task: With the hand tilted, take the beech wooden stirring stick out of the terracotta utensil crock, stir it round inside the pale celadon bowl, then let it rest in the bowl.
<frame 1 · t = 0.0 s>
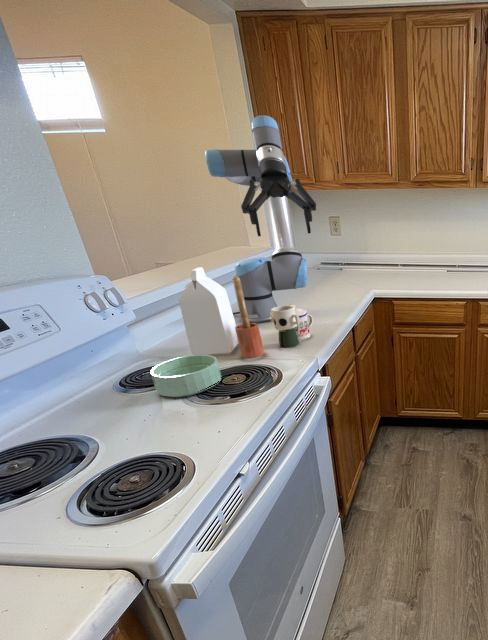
hand: (284, 232, 118), 36 cm above the countertop, tool tilted 35°, fingers open, 13 cm apart
bowl: (190, 386, 110), on the countertop
character mug: (289, 347, 136), on the countertop
utensil crock: (253, 356, 129), on the countertop
milk: (218, 350, 136), on the countertop
white patterned mug: (301, 337, 146), on the countertop
stirring stick: (252, 354, 128), point 1 cm above the countertop, touching utensil crock
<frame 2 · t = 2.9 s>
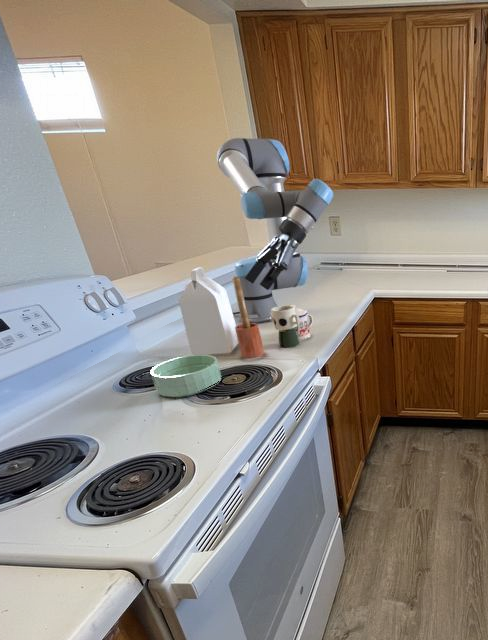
hand: (255, 284, 123), 22 cm above the countertop, tool tilted 45°, fingers open, 13 cm apart
nothing on the countertop moved.
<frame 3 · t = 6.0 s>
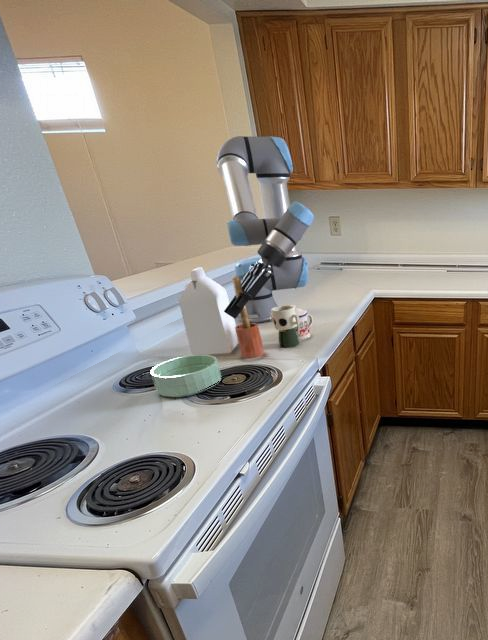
hand: (229, 315, 121), 14 cm above the countertop, tool tilted 45°, fingers closed on stirring stick, 2 cm apart
stirring stick: (252, 354, 128), point 1 cm above the countertop, touching gripper
everything else where it was.
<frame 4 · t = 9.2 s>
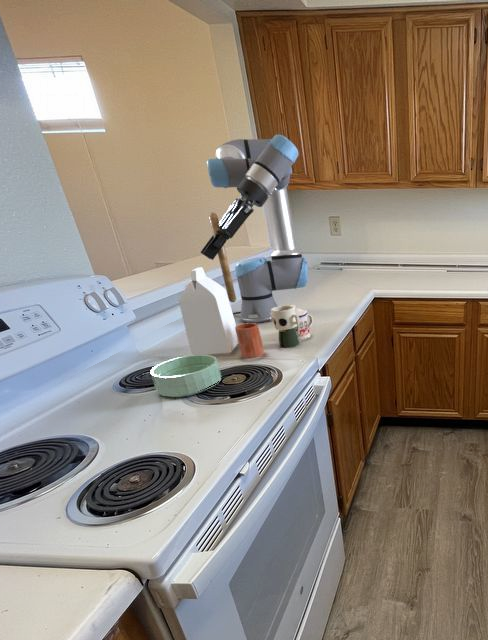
hand: (206, 256, 111), 31 cm above the countertop, tool tilted 45°, fingers closed on stirring stick, 2 cm apart
stirring stick: (233, 302, 119), point 18 cm above the countertop, touching gripper
everything else where it was.
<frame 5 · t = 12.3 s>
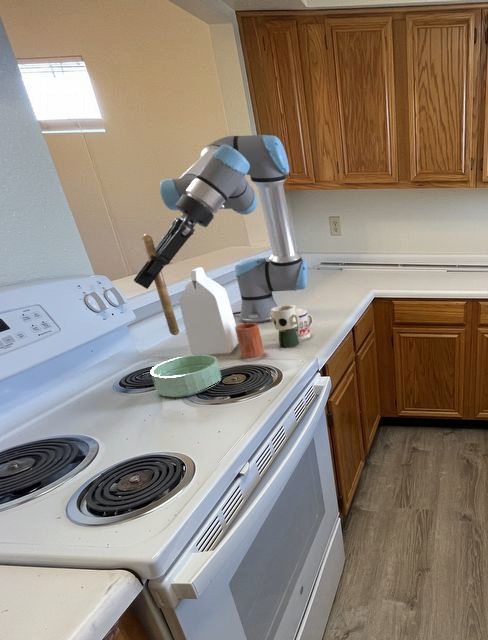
hand: (140, 284, 97), 28 cm above the countertop, tool tilted 45°, fingers closed on stirring stick, 2 cm apart
stirring stick: (175, 335, 104), point 14 cm above the countertop, touching gripper
everything else where it was.
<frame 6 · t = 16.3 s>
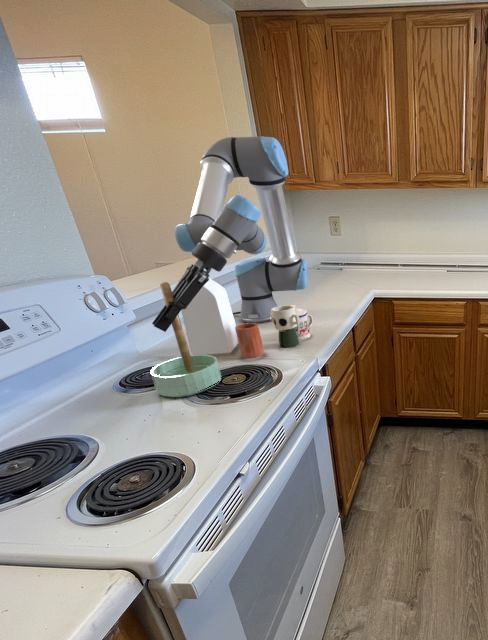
hand: (158, 327, 103), 17 cm above the countertop, tool tilted 45°, fingers closed on stirring stick, 2 cm apart
stirring stick: (190, 372, 110), point 3 cm above the countertop, touching gripper
everything else where it was.
when the fingers open (14 cm above the countertop, at t = 18.8 s): stirring stick moves 10 cm and tips over, resting on bowl.
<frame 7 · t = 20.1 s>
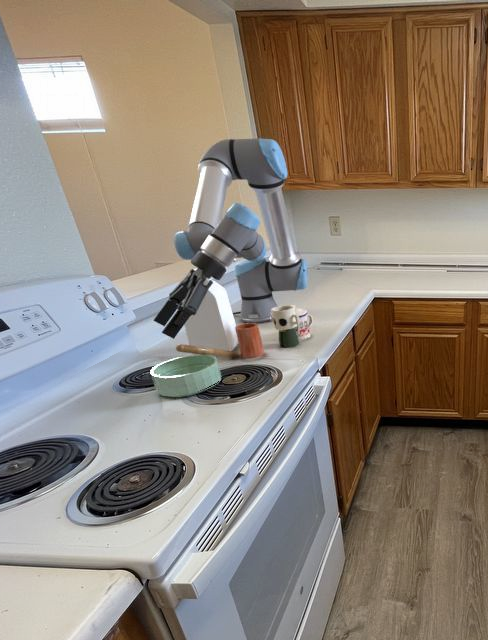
hand: (162, 329, 102), 16 cm above the countertop, tool tilted 45°, fingers open, 13 cm apart
stirring stick: (177, 347, 105), point 11 cm above the countertop, tilted 116°, touching bowl
everything else where it was.
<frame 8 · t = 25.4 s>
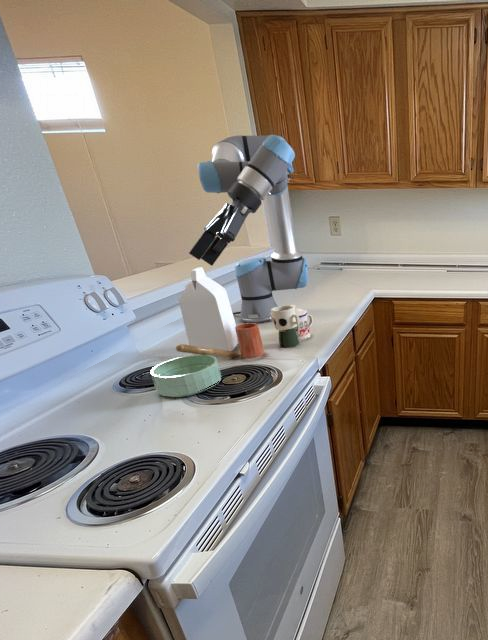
hand: (199, 259, 103), 32 cm above the countertop, tool tilted 45°, fingers open, 13 cm apart
nothing on the countertop moved.
at the end: stirring stick inside the target area on the bowl (0.5 cm from its centre), point 11.0 cm above the bowl's base; the gripper is holding nothing; stirring stick moved 24.8 cm from its start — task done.
